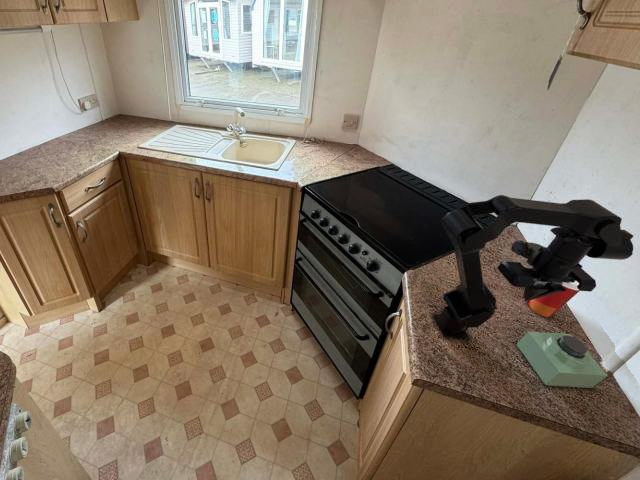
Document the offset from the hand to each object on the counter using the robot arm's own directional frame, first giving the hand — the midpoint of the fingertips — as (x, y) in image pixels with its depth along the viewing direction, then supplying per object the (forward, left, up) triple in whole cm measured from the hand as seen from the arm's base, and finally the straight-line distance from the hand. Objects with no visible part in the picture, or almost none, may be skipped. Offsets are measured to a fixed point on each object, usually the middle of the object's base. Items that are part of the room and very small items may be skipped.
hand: (526, 298), depth 77 cm
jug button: (+7, -9, -6) cm, 13 cm away
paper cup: (+17, +8, -13) cm, 23 cm away
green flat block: (+7, -9, -13) cm, 17 cm away
